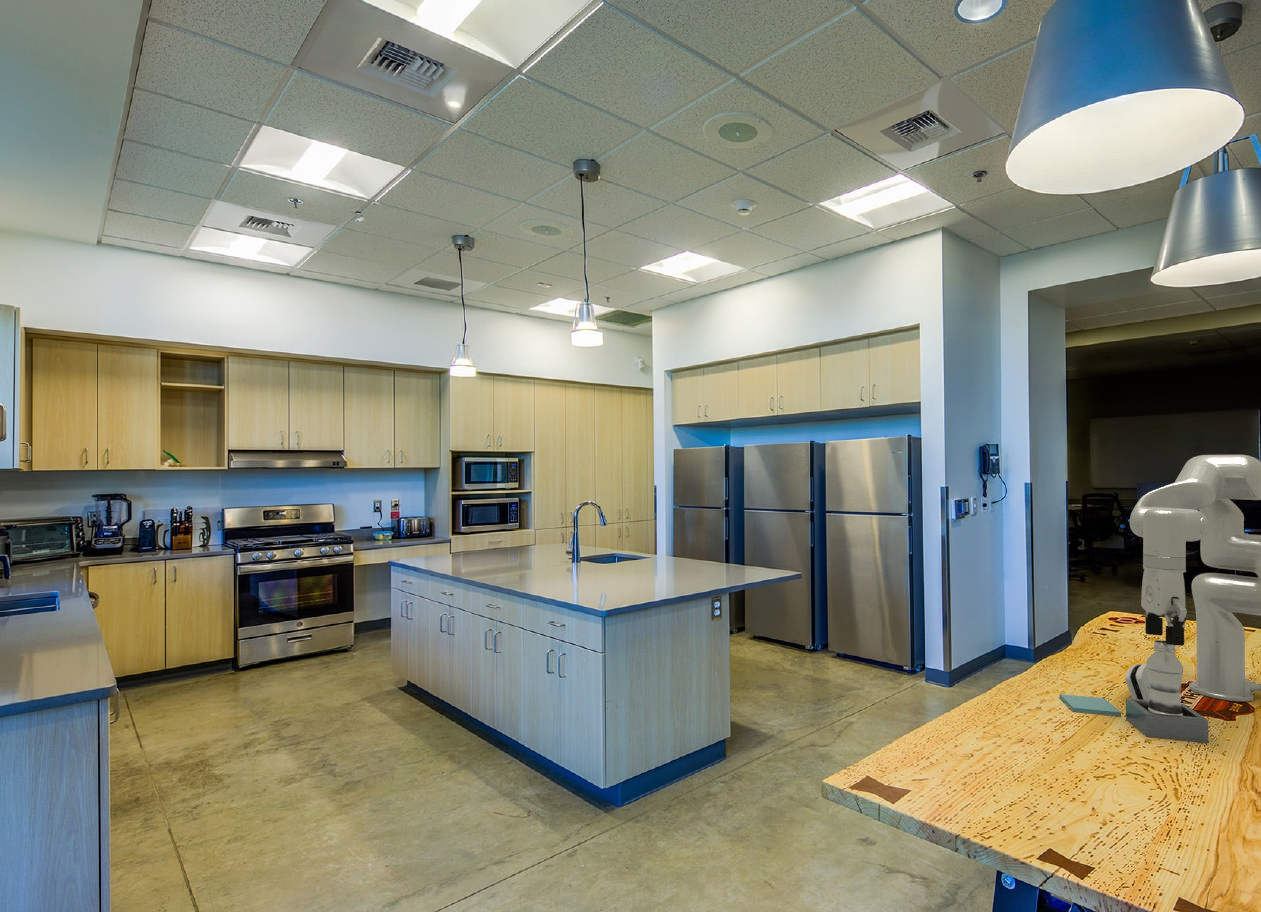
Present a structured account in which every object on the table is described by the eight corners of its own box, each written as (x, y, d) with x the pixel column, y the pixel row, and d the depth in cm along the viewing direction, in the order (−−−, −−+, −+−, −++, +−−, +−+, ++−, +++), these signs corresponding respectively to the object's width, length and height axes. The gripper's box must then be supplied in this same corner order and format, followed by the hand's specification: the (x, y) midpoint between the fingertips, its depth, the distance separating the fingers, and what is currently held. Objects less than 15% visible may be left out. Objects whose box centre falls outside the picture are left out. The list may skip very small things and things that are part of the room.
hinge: (1159, 711, 160) (1141, 669, 163) (1136, 712, 164) (1120, 671, 167) (1178, 697, 171) (1161, 657, 174) (1156, 698, 174) (1141, 660, 177)
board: (1104, 702, 167) (1104, 698, 167) (1121, 716, 157) (1121, 712, 157) (1059, 698, 170) (1059, 694, 170) (1073, 711, 160) (1073, 707, 160)
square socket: (1183, 725, 152) (1183, 703, 152) (1208, 743, 142) (1208, 720, 142) (1125, 719, 155) (1125, 698, 155) (1146, 736, 145) (1145, 714, 145)
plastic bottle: (1187, 739, 144) (1186, 647, 144) (1148, 732, 148) (1147, 643, 148) (1182, 729, 150) (1181, 641, 150) (1144, 723, 153) (1144, 637, 153)
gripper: (1128, 558, 158) (1128, 629, 158) (1162, 567, 142) (1162, 647, 141) (1165, 560, 156) (1165, 632, 156) (1204, 570, 140) (1204, 651, 139)
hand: (1164, 639), depth 149 cm, fingers open, 9 cm apart
